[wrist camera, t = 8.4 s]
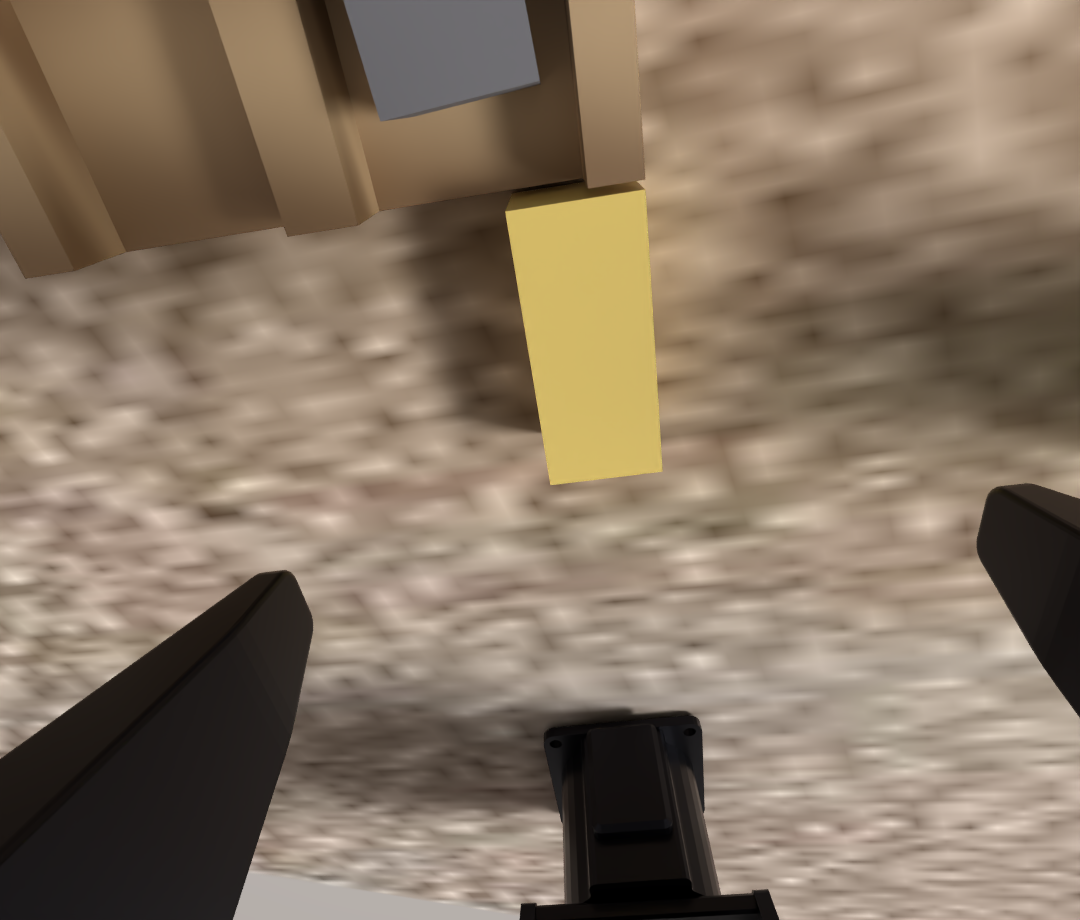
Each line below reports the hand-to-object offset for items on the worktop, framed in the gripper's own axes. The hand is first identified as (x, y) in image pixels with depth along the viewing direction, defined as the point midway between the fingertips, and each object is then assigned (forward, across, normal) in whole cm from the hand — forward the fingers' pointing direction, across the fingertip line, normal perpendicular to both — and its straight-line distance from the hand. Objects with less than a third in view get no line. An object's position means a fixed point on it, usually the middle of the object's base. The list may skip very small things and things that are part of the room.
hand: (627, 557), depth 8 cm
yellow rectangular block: (+11, 0, 0) cm, 11 cm away
